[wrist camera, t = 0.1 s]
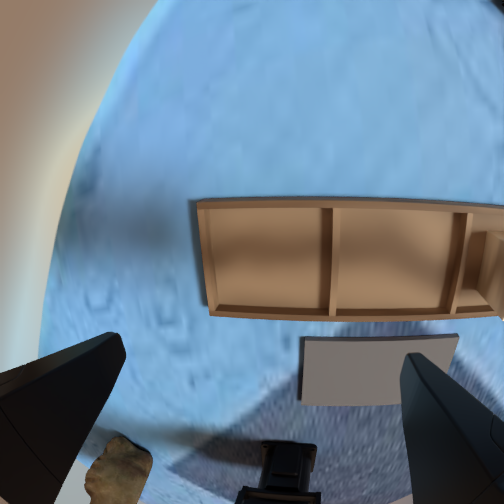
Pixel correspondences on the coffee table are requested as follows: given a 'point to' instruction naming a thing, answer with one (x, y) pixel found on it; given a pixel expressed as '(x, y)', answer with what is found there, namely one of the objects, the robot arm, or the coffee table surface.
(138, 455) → the sculpture
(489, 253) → the letter block
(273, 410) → the coffee table surface
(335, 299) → the bay tray
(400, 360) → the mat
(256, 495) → the robot arm
